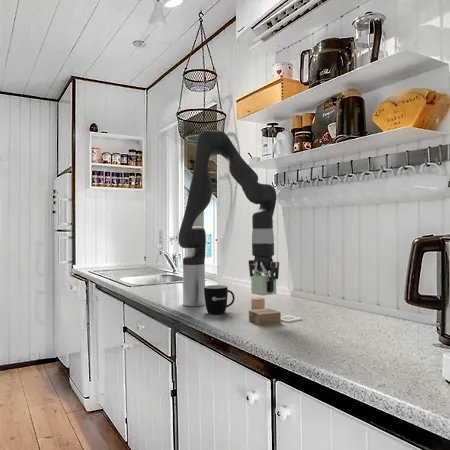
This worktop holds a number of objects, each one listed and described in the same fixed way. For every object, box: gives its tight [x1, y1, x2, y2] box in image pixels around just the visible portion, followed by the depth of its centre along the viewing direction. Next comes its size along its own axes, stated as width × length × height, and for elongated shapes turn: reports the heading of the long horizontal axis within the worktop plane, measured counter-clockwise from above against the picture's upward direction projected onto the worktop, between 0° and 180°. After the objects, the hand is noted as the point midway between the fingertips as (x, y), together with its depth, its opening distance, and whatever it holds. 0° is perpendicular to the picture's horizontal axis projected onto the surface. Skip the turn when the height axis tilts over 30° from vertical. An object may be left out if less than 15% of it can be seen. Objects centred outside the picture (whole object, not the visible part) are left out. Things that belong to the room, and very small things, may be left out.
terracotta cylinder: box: [250, 296, 266, 310], centre depth 159 cm, size 5×5×6 cm
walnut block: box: [248, 307, 282, 327], centre depth 147 cm, size 8×8×4 cm
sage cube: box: [250, 274, 277, 297], centre depth 147 cm, size 6×6×6 cm
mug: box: [204, 284, 236, 316], centre depth 164 cm, size 12×9×10 cm
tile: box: [281, 314, 303, 323], centre depth 150 cm, size 7×7×1 cm
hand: (263, 291), depth 147 cm, fingers closed on sage cube, 6 cm apart
